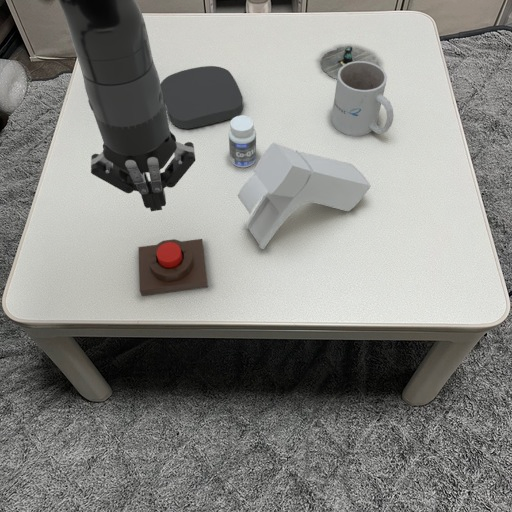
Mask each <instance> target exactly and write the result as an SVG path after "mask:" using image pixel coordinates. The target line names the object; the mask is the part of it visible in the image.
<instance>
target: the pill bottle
mask: <svg viewBox="0 0 512 512" xmlns="http://www.w3.org/2000/svg"><path fill="white" fill-rule="evenodd" d="M229 127H230V128H229V131H228V147H229V159H230V162H231V164H232V165H234V166H235V167H237V168H248V167H250V166H253V165H254V164H255V162H256V161H257V131H256V129H255V122H254V120H253V118H251V117H250V116H248V115H245V114H244V115H238V116H236V117H234V118H231V119H230V123H229Z"/></svg>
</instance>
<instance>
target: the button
mask: <svg viewBox="0 0 512 512" xmlns="http://www.w3.org/2000/svg"><path fill="white" fill-rule="evenodd" d="M157 258H158V261H159V263H160V265H161V266H162V267H164V268H174V267H176V266H178V265H179V264H180V263H181V261H182V253H181V249H180V247H179V246H178V245H177V244H175V243H172V242H168V243H164V244H162V245H161V246H160V247H159V248H158V250H157Z"/></svg>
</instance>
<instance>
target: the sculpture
mask: <svg viewBox="0 0 512 512" xmlns="http://www.w3.org/2000/svg"><path fill="white" fill-rule="evenodd" d="M354 61H366V62H370V63H373V64H376V65H378V66H379V67H381V66H380V64H379V61H378V59H377V58H376V56H375V55H374V54H372V53H371V52H369V51H368V50H365V49H362V48H360V47H356V46H351V45H350V46H339V47H337V48H336V49H334V50H333V49H332V50H330V51H328V52H326V53H325V54H324V55H322V57H321V59H320V60H319V65H320V67H321V69H322V71H323V72H324V73H326V74H327V75H328V76H329V77H330V78H333V79H334V80H335V79H336V80H337V76H338V71H339V69H340V68H341V67H342V66H343V65H345V64H347V63H350V62H354Z"/></svg>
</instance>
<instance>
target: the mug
mask: <svg viewBox="0 0 512 512" xmlns="http://www.w3.org/2000/svg"><path fill="white" fill-rule="evenodd" d="M379 66H380V65H379ZM379 66H378V65H376V64H373V63H370V62H366V61H354V62H350V63H347V64H345V65H343V66H342V67H341V68H340V69H339V71H338V76H337V79H336V83H335V90H334V91H335V92H334V99H333V105H332V113H331V123H332V126H333V127H334V128H335V129H336V130H337V131H338V132H340V133H341V134H344V135H347V136H352V137H360V136H361V137H362V136H365V135H368V134H370V133H372V132H374V133H376V134H379V135H381V134H384V133H386V132H388V131H389V130H390V128H391V127H392V124H393V123H394V122H393V121H394V107H393V105H392V103H391V101H390V100H389V99H388V98H387V97H386V96H384V93H385V90H386V85H387V81H388V76H387V73H386V70H384V69H383V68H382V67H381V66H380V67H379ZM382 106H383V107H384V109H385V112H386V120H385V125H384V127H381V126H379V125H378V124H377V123H378V119H379V115H380V110H381V107H382Z"/></svg>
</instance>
